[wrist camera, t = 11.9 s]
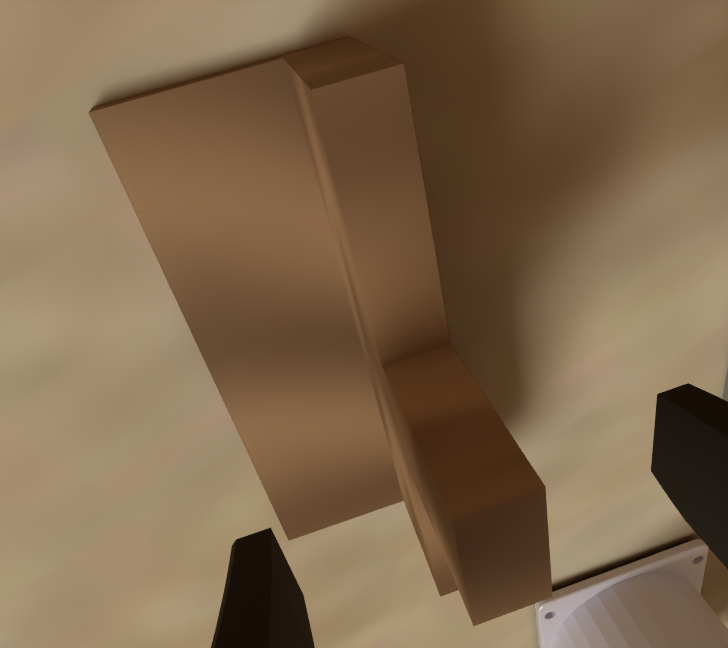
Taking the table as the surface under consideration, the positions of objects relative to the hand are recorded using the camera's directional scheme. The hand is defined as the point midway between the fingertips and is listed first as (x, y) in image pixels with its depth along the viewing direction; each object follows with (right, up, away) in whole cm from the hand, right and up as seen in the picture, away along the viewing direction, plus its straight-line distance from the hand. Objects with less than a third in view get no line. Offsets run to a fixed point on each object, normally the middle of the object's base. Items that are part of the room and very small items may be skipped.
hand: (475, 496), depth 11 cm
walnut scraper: (-3, +3, +6) cm, 7 cm away
